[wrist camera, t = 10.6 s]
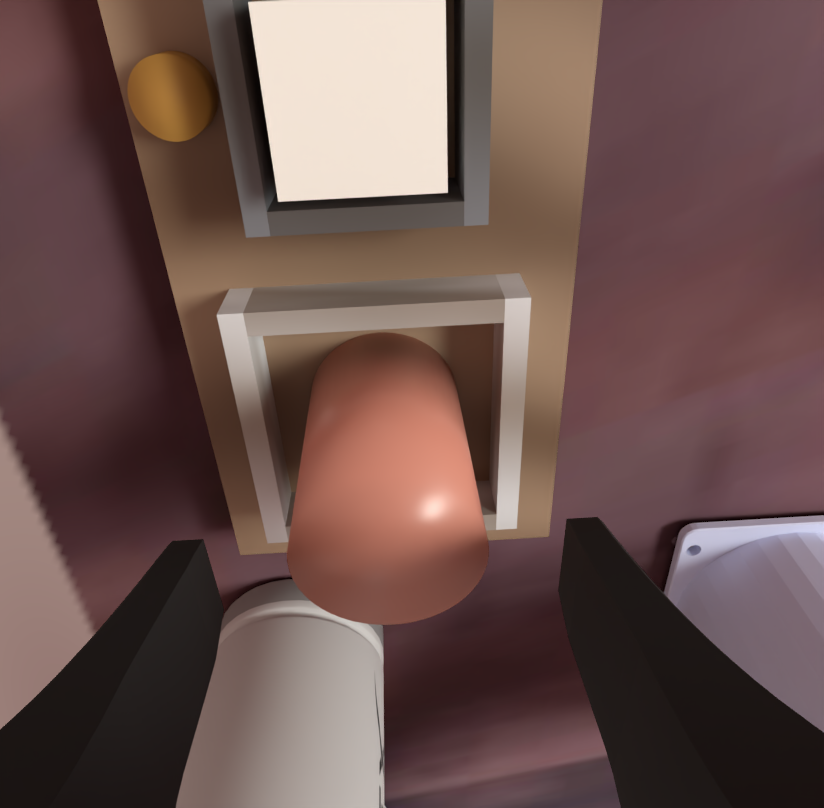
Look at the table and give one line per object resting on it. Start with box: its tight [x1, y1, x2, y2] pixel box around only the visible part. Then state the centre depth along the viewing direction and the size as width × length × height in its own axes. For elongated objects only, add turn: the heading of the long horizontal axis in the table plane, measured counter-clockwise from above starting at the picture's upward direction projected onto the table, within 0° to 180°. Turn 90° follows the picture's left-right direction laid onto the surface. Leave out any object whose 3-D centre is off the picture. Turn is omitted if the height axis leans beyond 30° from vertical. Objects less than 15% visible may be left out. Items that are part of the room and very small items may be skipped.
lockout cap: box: [287, 332, 489, 625], centre depth 15 cm, size 4×4×6 cm
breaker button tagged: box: [248, 0, 448, 202], centre depth 12 cm, size 3×3×2 cm
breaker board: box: [97, 0, 603, 555], centre depth 15 cm, size 21×10×4 cm, turn 2°
